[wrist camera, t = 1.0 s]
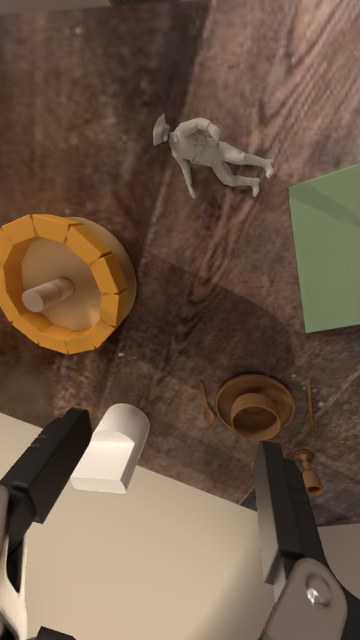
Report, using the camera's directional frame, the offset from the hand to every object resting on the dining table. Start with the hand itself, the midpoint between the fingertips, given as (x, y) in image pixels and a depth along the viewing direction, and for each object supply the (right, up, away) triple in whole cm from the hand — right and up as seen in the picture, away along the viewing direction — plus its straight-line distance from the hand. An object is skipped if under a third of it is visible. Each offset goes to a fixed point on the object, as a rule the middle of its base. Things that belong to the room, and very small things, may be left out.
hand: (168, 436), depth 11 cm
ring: (-15, +10, +21) cm, 27 cm away
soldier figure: (+4, +23, +16) cm, 28 cm away
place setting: (+14, -11, +29) cm, 34 cm away
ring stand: (-14, +11, +25) cm, 30 cm away
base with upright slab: (-10, -14, +35) cm, 39 cm away
